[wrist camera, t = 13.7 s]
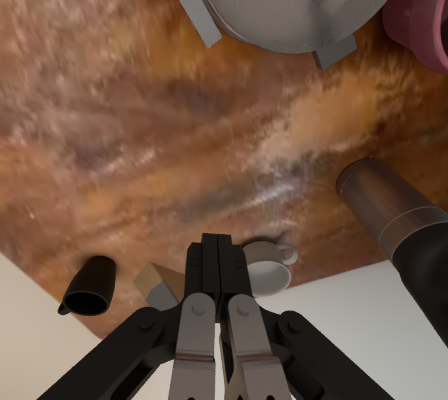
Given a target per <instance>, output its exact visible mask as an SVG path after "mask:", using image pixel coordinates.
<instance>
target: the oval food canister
mask: <svg viewBox="0 0 448 400" xmlns="http://www.w3.org/2000/svg"><path fill="white" fill-rule="evenodd" d="M179 1H180V3H181V4H182V6H183V8H184V9H185V11H186V13H187V14H188V16H189V18H190V19H191V21H192V23H193V24H194V26H195V28H196V29H197V31H198V33H199V34H200V36H201V38H202V39H203V41H204V43H205V44H206V46H207V48H209V47H211V46H212V45H213V44H214V43H216V42H217V41H218V40H219V39H221V38H222V36H221V34H220V32H219V30H218V28H217V27H216V25H215V23H216V24H217V25H218V26H219V27H220V28H221V29H222V30H223V31H225V32H226V33H228V34H229V35H230V36H232V37H234V38H236V39H238V40H240V41H242V42H245V43H248V44H253V43H251V42H250V41H248V40H246V39H244V38H243V37H242V36H240V35H239V34H237V33H236V32H235V31H234V30H233V29H232V28H231V27H230V26H229V25H228V24H227V23H226V22H225V21H224V20H223V19H222V17H221V16H220V15H219V14H218V12H217V11H216V9H215V8H214V6H213V5H212V3H211V1H210V0H179ZM213 20H214V21H215V23H214V21H213ZM254 45H255V44H254ZM356 49H357V46H356V42H355V39H354V35H353V33H352V34H351V35H349V36H347V37H346V38H344V39H342V40H341V41H339V42H337V43H335V44H332V45H330V46H328V47H326V48H323V49H319V50H316V51H312V55H313V57H314V60H315V63H316V65H317V68H318V69H321V70H323V71H324V70H325V69H327V68H328V67H330V66H331V65H333V64H334V63H336V62H337V61H339V60H340V59H342V58H344V57H345V56H347V55H348V54H350V53H351V52H353V51H354V50H356Z"/></svg>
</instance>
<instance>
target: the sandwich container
mask: <svg viewBox="0 0 448 400" xmlns="http://www.w3.org/2000/svg"><path fill="white" fill-rule="evenodd" d="M134 283H135V285H136V286H137V288H138V289H139V291H140V292H141V294H142V295H143V297H144V298H145V300H146V301H147V303H148V305H149V306H150V307H154V308H157V309H158V310H160V311H164V310H167V309H170V308H173V307H175V306H176V305H178V304H179V303H180V302H181V300H182V299H183V297H184V284H185V275H184V274H181V273H178V272H176V271H173V270H170V269H168V268H165V267H162V266H159V265H157V264H154V263H151V262H149V263H148V264H147V265H146V266H145V267H144V268H143V269H142V271H141V272H140V273H139V274H138V276H137V277H136V278H135V280H134Z"/></svg>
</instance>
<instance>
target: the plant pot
mask: <svg viewBox="0 0 448 400" xmlns="http://www.w3.org/2000/svg"><path fill="white" fill-rule="evenodd" d="M382 21H383V26H384V29H385V31H386V33H387V35H388V36H389V37H390V38H391V39H392V40H394V41H396V42H398V43H400V44H401V45H403V46H404V47H406V48H408V49H409V50H411V51H413V53H414V55H415V57H416V58H417V60H418V61H419V62H420V63H421V64H422V65H423V66H424V67H425V68H427V69H429V70H431V71H433V72H436V73H440V74H444V75H448V0H387V1H386V3H385V4H384V5H383V11H382Z"/></svg>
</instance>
